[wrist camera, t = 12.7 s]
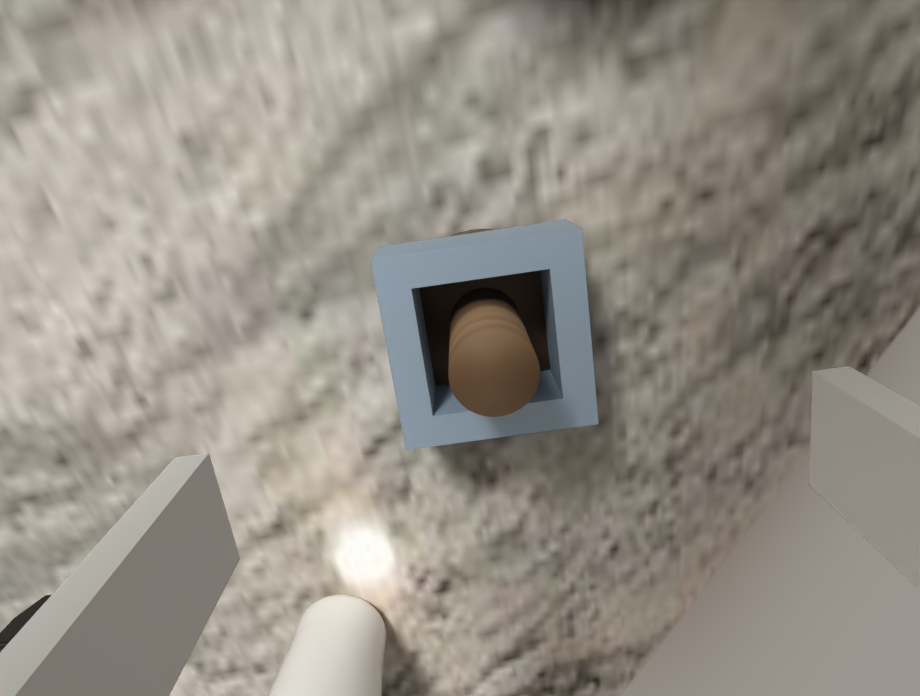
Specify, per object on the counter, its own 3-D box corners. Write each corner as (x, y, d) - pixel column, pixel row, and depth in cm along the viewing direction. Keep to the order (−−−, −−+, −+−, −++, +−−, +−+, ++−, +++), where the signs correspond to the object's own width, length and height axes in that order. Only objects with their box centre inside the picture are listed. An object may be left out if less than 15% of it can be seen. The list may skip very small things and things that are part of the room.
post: (383, 242, 31) (355, 275, 23) (561, 216, 31) (603, 239, 22) (412, 408, 34) (398, 493, 25) (578, 385, 34) (620, 464, 25)
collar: (381, 246, 30) (370, 259, 27) (565, 219, 30) (581, 228, 26) (411, 416, 33) (405, 450, 29) (581, 393, 33) (598, 424, 29)
